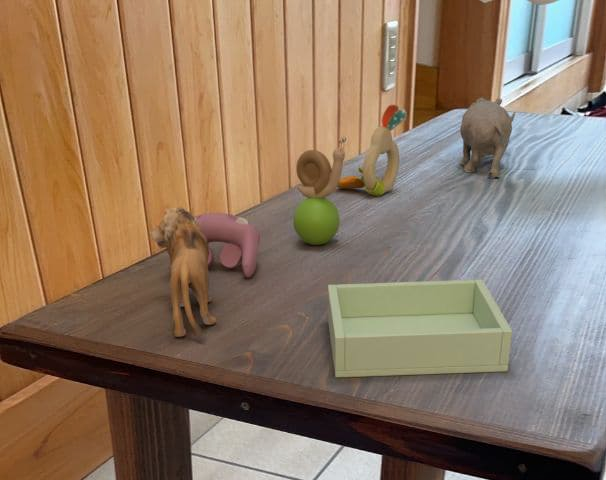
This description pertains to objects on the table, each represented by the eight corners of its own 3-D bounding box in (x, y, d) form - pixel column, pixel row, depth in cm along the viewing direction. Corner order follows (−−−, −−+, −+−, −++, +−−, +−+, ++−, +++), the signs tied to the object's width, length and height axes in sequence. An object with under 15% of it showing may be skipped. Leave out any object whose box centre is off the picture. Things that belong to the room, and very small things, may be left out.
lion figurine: (156, 293, 89) (145, 204, 84) (206, 288, 90) (198, 199, 85) (176, 347, 78) (164, 248, 73) (233, 340, 79) (226, 241, 74)
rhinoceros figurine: (449, 162, 122) (470, 58, 122) (448, 200, 136) (467, 106, 136) (503, 169, 121) (524, 64, 121) (497, 206, 135) (516, 112, 134)
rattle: (373, 181, 125) (375, 94, 119) (408, 192, 120) (412, 102, 113) (331, 189, 122) (331, 100, 115) (365, 201, 117) (367, 108, 110)
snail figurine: (333, 254, 98) (333, 142, 91) (285, 247, 101) (281, 137, 94) (354, 241, 102) (355, 132, 95) (308, 235, 105) (305, 128, 98)
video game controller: (261, 282, 96) (264, 217, 95) (252, 276, 91) (255, 208, 90) (177, 279, 97) (179, 215, 96) (164, 273, 93) (166, 206, 92)
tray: (479, 315, 82) (482, 279, 80) (507, 371, 72) (512, 331, 70) (328, 321, 82) (327, 284, 80) (335, 377, 72) (335, 337, 70)
